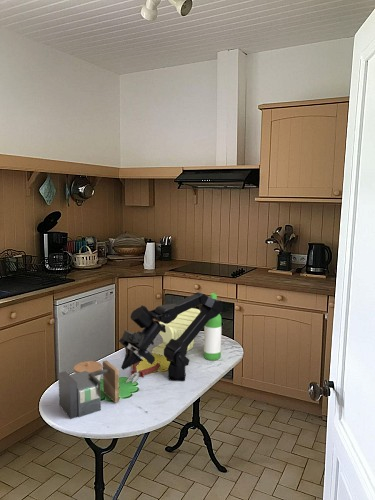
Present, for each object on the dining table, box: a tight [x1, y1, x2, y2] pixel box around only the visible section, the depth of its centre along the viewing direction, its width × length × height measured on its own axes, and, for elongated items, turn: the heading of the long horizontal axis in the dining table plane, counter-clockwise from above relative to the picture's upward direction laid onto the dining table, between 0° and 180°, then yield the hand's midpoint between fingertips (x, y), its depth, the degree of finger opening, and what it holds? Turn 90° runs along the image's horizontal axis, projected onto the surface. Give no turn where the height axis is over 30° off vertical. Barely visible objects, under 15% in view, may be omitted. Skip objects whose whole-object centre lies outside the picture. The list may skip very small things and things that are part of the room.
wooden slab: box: [89, 360, 120, 403], centre depth 150 cm, size 9×12×12 cm
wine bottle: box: [203, 292, 222, 361], centre depth 190 cm, size 8×8×30 cm
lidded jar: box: [73, 360, 103, 382], centre depth 163 cm, size 11×11×9 cm
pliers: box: [125, 361, 161, 384], centre depth 174 cm, size 12×20×3 cm, turn 162°
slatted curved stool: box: [151, 307, 201, 356], centre depth 198 cm, size 30×16×18 cm, turn 152°
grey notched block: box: [58, 371, 102, 420], centre depth 146 cm, size 10×12×12 cm
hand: (122, 368), depth 156 cm, fingers closed
